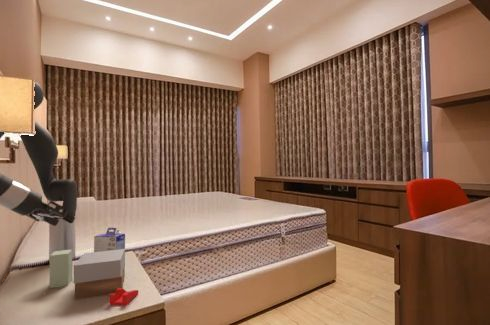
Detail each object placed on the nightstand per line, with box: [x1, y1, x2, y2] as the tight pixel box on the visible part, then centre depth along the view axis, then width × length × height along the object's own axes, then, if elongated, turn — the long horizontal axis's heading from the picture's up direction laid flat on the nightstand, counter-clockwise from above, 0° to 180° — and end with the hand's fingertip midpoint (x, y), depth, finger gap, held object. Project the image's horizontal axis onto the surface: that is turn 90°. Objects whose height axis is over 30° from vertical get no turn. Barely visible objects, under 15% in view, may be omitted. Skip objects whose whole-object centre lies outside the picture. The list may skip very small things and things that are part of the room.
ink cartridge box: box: [93, 227, 126, 252], centre depth 100 cm, size 10×6×14 cm, turn 78°
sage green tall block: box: [49, 249, 73, 289], centre depth 85 cm, size 5×5×10 cm
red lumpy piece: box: [109, 287, 139, 306], centre depth 74 cm, size 6×5×3 cm
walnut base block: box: [74, 264, 126, 301], centre depth 82 cm, size 12×12×5 cm
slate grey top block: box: [73, 248, 126, 284], centre depth 82 cm, size 12×12×5 cm
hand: (64, 222), depth 90 cm, fingers open, 8 cm apart
